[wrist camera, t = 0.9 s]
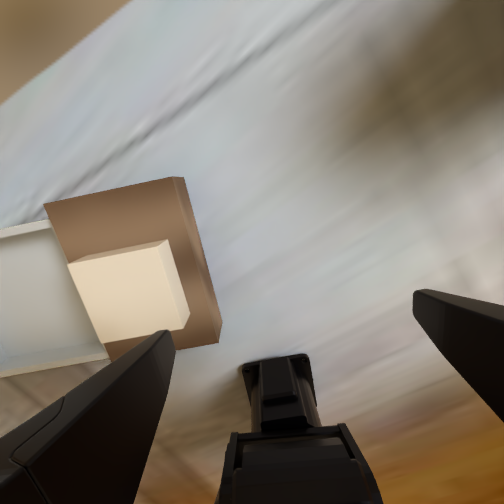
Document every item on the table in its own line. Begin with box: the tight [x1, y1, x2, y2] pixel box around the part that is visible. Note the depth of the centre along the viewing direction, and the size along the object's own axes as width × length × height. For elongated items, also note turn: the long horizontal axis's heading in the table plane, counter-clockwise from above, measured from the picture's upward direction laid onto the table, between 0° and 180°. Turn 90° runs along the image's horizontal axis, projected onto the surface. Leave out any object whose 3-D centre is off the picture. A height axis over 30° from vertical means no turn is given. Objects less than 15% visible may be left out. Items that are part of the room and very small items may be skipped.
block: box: [67, 239, 190, 344], centre depth 17 cm, size 6×6×2 cm
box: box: [0, 219, 109, 378], centre depth 20 cm, size 12×12×2 cm
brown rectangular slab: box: [43, 177, 222, 362], centre depth 19 cm, size 13×9×3 cm
